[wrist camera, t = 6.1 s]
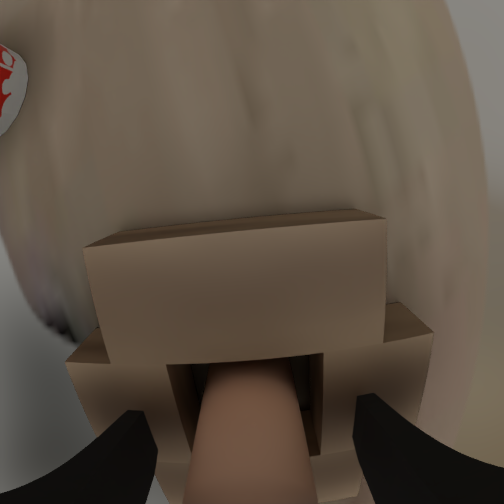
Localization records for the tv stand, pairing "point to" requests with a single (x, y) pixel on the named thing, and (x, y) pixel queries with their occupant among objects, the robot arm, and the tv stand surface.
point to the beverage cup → (11, 86)
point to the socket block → (249, 329)
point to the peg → (250, 438)
